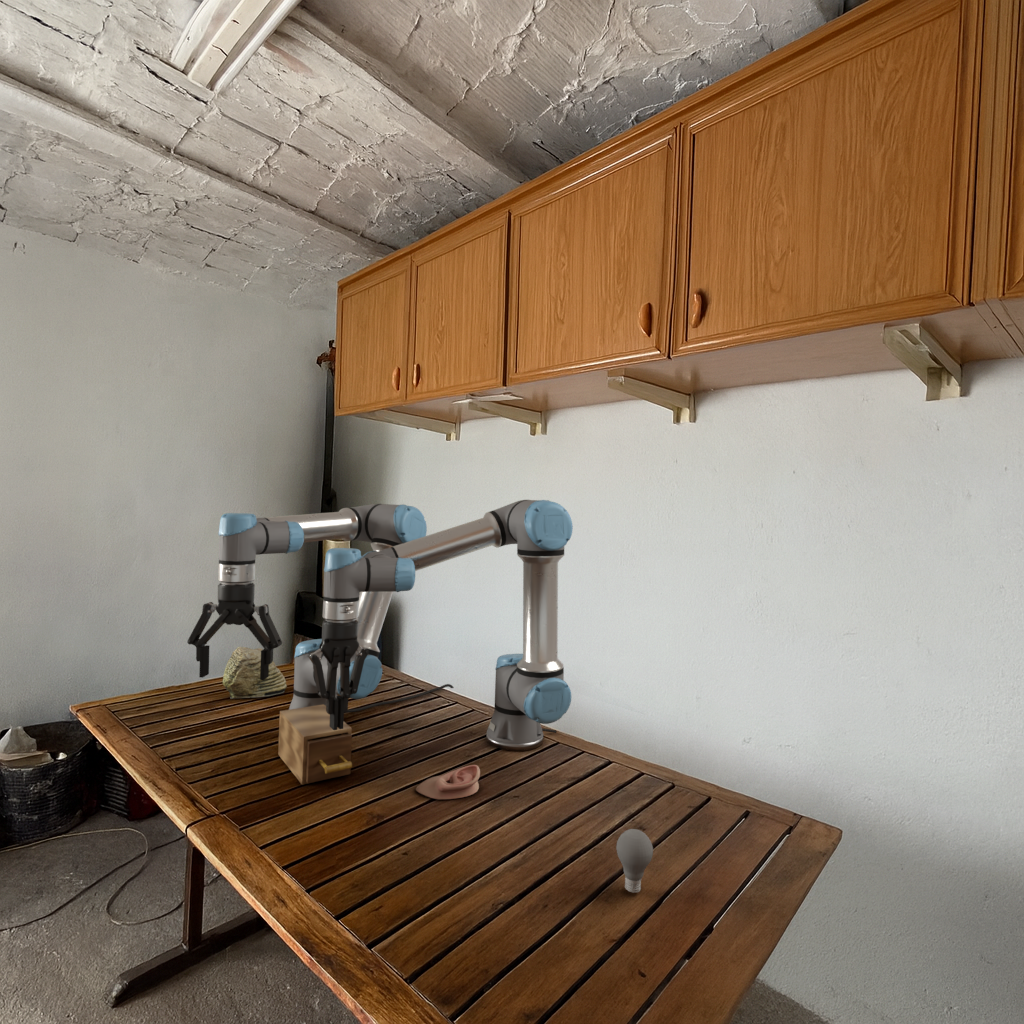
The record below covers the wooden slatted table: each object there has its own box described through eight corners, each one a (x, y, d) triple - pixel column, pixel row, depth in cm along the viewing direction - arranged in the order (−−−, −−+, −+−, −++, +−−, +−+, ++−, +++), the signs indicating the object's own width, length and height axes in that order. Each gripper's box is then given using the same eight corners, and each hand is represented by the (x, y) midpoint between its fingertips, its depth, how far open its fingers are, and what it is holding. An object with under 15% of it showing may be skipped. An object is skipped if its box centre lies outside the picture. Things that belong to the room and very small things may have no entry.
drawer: (360, 783, 139) (361, 743, 138) (316, 794, 133) (317, 752, 133) (324, 747, 158) (325, 711, 157) (284, 754, 152) (285, 718, 152)
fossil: (218, 695, 195) (220, 647, 195) (278, 685, 208) (279, 640, 207) (228, 703, 189) (230, 653, 188) (289, 692, 201) (290, 645, 201)
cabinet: (349, 774, 145) (351, 728, 145) (302, 785, 139) (303, 736, 139) (322, 746, 160) (323, 704, 160) (278, 754, 154) (279, 711, 154)
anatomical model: (411, 777, 135) (429, 756, 147) (410, 795, 136) (428, 773, 147) (471, 785, 133) (484, 763, 144) (470, 804, 133) (483, 781, 144)
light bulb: (610, 879, 108) (613, 822, 108) (644, 879, 109) (647, 822, 109) (619, 902, 102) (622, 840, 102) (655, 901, 103) (658, 840, 103)
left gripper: (171, 582, 137) (169, 679, 138) (285, 587, 137) (283, 684, 138) (190, 578, 145) (187, 670, 145) (298, 582, 144) (295, 674, 145)
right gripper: (314, 625, 130) (310, 738, 131) (377, 620, 138) (372, 727, 139) (303, 618, 136) (299, 727, 137) (363, 614, 144) (359, 717, 145)
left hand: (234, 677), depth 142 cm, fingers open, 13 cm apart
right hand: (336, 727), depth 138 cm, fingers closed
